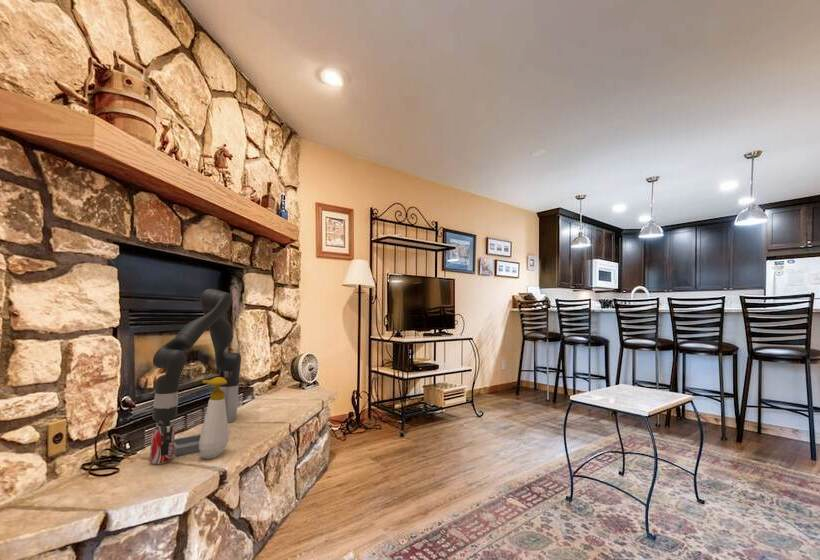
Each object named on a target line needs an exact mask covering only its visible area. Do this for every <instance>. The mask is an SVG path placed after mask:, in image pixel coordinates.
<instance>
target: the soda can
mask: <svg viewBox="0 0 820 560" xmlns="http://www.w3.org/2000/svg"><path fill="white" fill-rule="evenodd" d="M172 427H173V428H172V439H171V441H172V442H171V443H170V444H169V450H168V454H167V455H164V456H161V438H160V430H158V428H157V427H156V426H155V428H154V429H153V432H152V433H151V439H150V440H151V441H150V454H149V461H150V463H151V464H153V465H164V464H168V463H169V462H170V461H172V459H173V457H174V454H173V450H174V439H176V438H175V436H176V435H175V434H176V433H175V432H176V431H175V429H174V425H172ZM162 435H163V432H162ZM165 440H168V437H166V438H165Z"/></svg>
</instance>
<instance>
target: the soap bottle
mask: <svg viewBox="0 0 820 560" xmlns="http://www.w3.org/2000/svg"><path fill="white" fill-rule="evenodd" d="M224 378H225V377H222V376H220V377H219V376H217V377H214V378H212V379H209V380H208V379H204V380H202V383H203V384H205V385H206V384H208V385H210V386H215V389H213V390H212V391H211V392H210V395H209V397H210V398H209V400H208V401H207V402H208V403H207V407H206V410H205V416H204V419H203V424H202V428H201V432H200V434H201V436H200V440H199V451H200V452H199V453H200V456H201V457H202V458H204V459H208V460H209V459H214V458H216V457H219V456H220V455H221V454H223V452H224V451H225V449H226V447H227V446H228V445H227V444H229V438H230V437H229V427H228V426H229V425H228V423H227V415H226V406H225V399H224V392H223V390H220V385H223V384H227V381H226V380H225V379H224Z"/></svg>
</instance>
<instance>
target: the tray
mask: <svg viewBox="0 0 820 560" xmlns="http://www.w3.org/2000/svg"><path fill="white" fill-rule="evenodd" d="M200 436H201V433H200V434H194V435H188V436H183V437H178V438H174V450H173V456H174V457H176V458H177V457H181V456H186V455H191V454H195V453H200V451H199V440H200Z"/></svg>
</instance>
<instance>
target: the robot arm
mask: <svg viewBox="0 0 820 560" xmlns="http://www.w3.org/2000/svg"><path fill="white" fill-rule="evenodd" d="M232 302H233V297H232V294H231V293H229V292H226V291H223V290H219V289H215V288H207V289H204V290H203V292H202V293H201V295H200V306H201V307H200V308H201V309H202V311H203V314H204V315H203V316H201V317H198V318H196V319H194V320H192V321H190V322H189V323H186V324H185V325H184V326H183V327H182V328H181V330H179V332H178V334H176V335H175V337H174V338H172V339H171V340H169V341H167V342H166V343H165V344H164V345H162V346H161V347H160V348H158V350H156V352H155V353H154V356H153V358H152V364H153V366H154V367H156V368H157V369H164V370H166V373H165V374H164V375H161V376H158V377H157V379H156V382H155V383H156V384H155V393H154V397H153V405H152V406H153V409H152V420H153V421H155V424H156V426H155V428H156V427H157V428H158V430H160V438H161V456H164V455H167V454H168V450H169V444H170V443H171V442H172V441H171V439H172V428H173V429H174V426H173V424H172V423H171V420H173V419H176V418H177V417H178V409H179V408H178V407H179V387H180V386H179V385H180V382H179V381H180V379H181V376H182V373H183V370H184V367H185V365H186V359H187V358H186V355H185V353H184V352H186V351H189V350H191V348H193V347H194V345H195V344H196V343H197V341H199V339H200V338H201V337H202V335H204V333H205V332H206V331H209V335H210V339H211V340H210V341H211V343H212V346H213V347H212V348H213V350H214V358H215V365H216V366H215V367H216V369H217V371H219V372H231V374H230V375H228V376H226V377H223V378H224V379H225V380H226V381H227V384H223V385H220V390H223V392H224V399H225V406H226V415H227V424H228V423H233V422H236V421H237V415H238V404H239V403H238V400H239V385H240V373H241V363H242V356H241V354H240V352H225V350H226V349H227V348H228V347H229V346H230V344H231V343H232V341H233V339H234V333H233V328H232V325H231V323H230V322H229V321H228V320H227V318H226V317H225V316H224V315H225V313H227V312H228V310H229V309H231V306H232ZM235 420H236V421H235ZM172 426H173V427H172ZM162 432H163V435H162ZM166 437H168V440H165V438H166Z"/></svg>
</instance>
